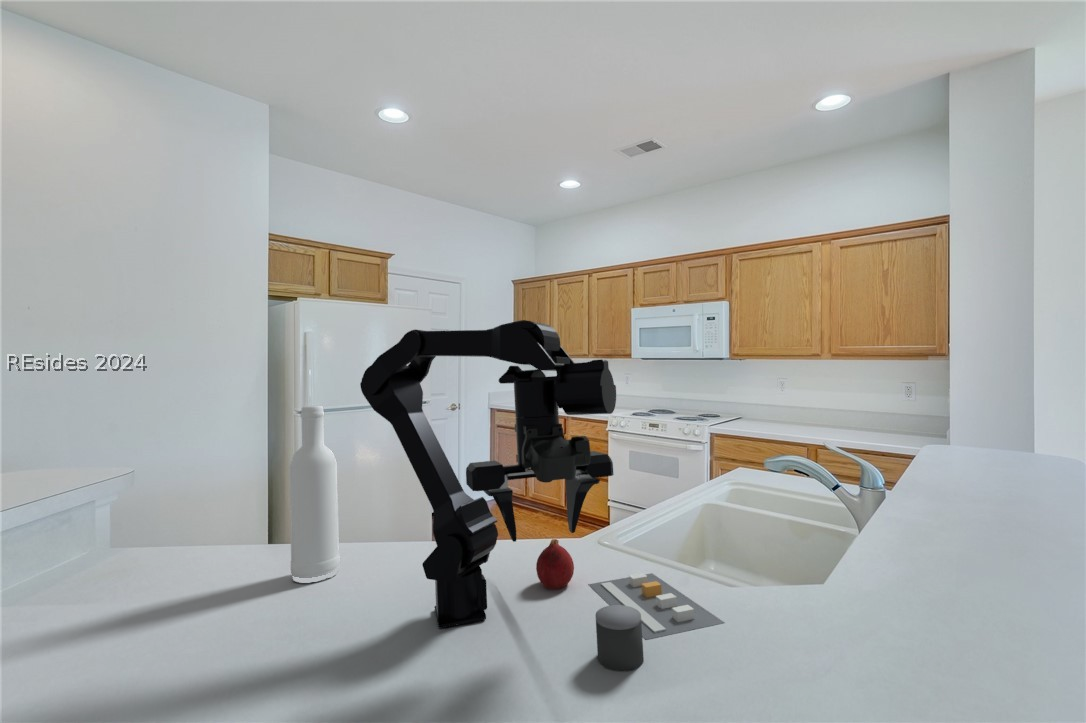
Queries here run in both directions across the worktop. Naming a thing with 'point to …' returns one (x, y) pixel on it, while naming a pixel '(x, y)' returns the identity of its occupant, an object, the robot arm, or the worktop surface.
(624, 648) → the canister
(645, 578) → the panel
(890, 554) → the worktop surface
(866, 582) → the worktop surface
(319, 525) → the bottle
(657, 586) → the block
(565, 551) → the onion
